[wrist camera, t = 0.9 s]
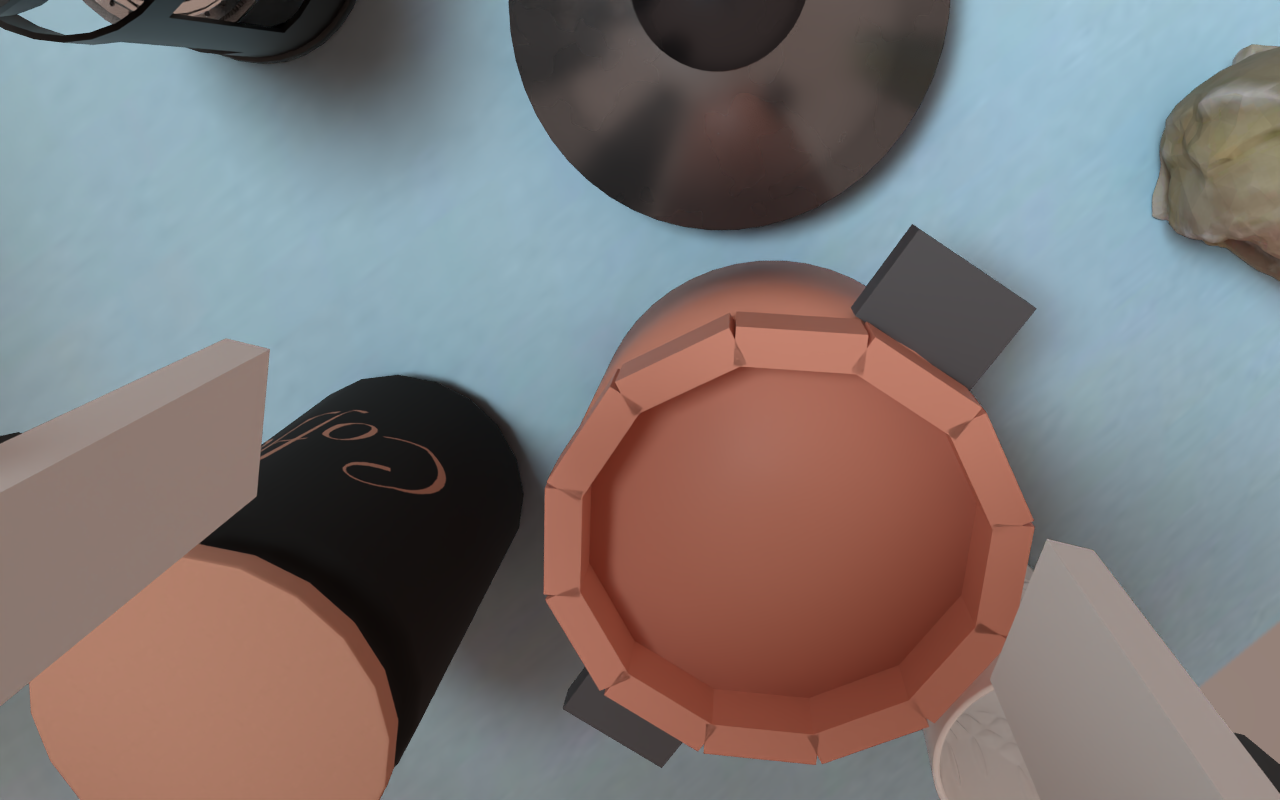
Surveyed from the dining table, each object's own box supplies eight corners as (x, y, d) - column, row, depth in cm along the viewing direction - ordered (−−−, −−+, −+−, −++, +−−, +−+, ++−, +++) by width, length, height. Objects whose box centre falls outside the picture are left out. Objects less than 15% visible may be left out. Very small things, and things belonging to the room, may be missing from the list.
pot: (770, 686, 45) (780, 888, 33) (503, 522, 43) (419, 674, 32) (1070, 328, 38) (1210, 427, 27) (765, 121, 37) (776, 134, 25)
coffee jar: (525, 370, 41) (374, 566, 24) (532, 586, 44) (404, 892, 27) (292, 362, 42) (-12, 545, 25) (316, 574, 45) (62, 862, 28)
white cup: (897, 697, 44) (940, 861, 35) (883, 548, 42) (925, 680, 33) (1071, 684, 43) (1165, 850, 34) (1067, 530, 41) (1165, 662, 31)
